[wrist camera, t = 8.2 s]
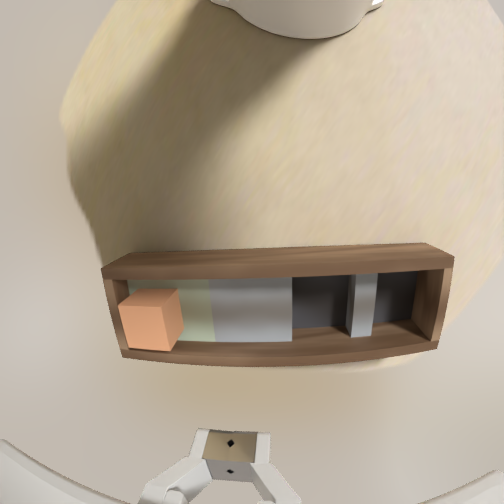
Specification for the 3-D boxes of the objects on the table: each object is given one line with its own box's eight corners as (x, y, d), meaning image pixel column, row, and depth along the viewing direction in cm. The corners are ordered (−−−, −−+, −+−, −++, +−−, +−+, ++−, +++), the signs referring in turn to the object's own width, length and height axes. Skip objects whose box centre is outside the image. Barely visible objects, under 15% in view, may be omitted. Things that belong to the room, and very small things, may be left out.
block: (138, 288, 25) (117, 305, 21) (177, 288, 24) (161, 306, 20) (146, 326, 25) (128, 347, 22) (184, 328, 25) (170, 351, 21)
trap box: (129, 253, 27) (100, 268, 22) (425, 242, 24) (454, 256, 19) (144, 331, 29) (122, 357, 24) (414, 323, 26) (436, 348, 21)
